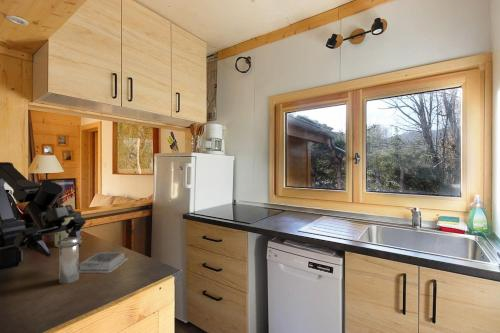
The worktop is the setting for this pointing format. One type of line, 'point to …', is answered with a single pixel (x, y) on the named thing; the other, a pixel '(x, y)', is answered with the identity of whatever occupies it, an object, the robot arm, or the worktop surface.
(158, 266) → the worktop surface
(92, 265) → the collar
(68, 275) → the lidded steel tumbler
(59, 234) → the coffee can
